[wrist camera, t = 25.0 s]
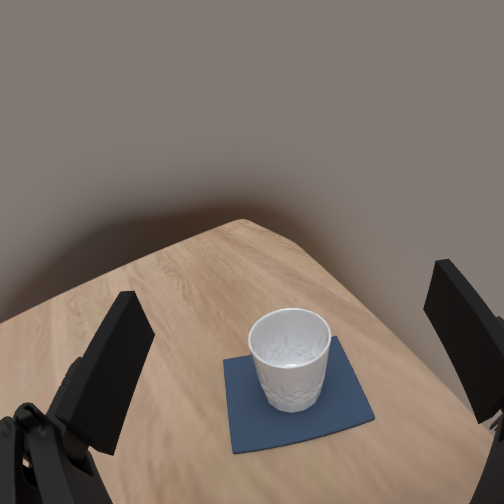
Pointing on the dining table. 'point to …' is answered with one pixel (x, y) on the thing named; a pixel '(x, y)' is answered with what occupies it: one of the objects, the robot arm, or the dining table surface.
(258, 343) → the white cup
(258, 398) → the glassware mat
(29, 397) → the dining table surface
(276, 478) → the dining table surface
